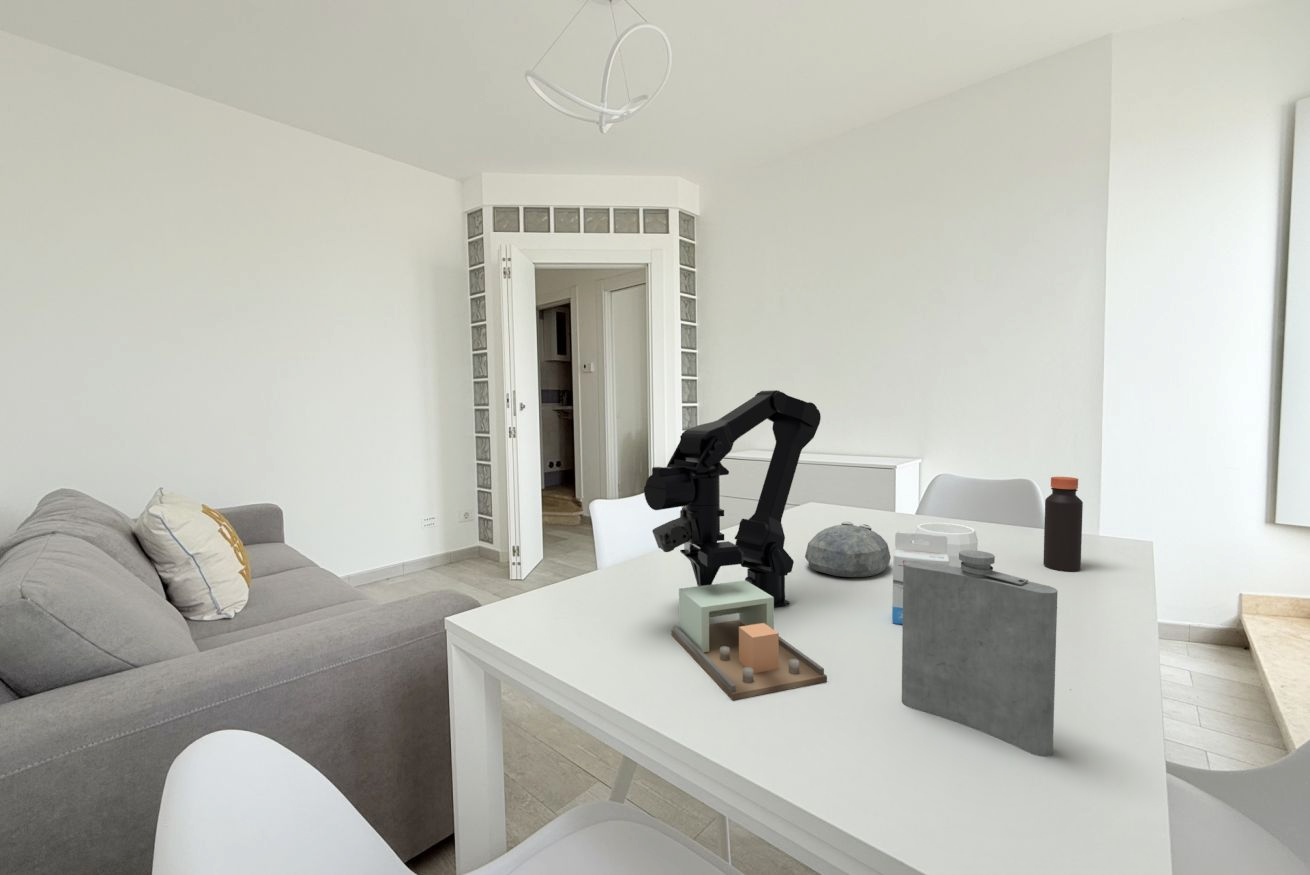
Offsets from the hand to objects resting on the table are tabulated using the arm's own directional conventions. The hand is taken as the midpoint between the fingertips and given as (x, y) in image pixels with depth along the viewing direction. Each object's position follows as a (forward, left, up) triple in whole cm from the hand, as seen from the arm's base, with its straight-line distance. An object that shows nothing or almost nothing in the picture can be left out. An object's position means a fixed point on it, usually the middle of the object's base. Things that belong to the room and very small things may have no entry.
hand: (703, 593), depth 98 cm
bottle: (-87, -1, -5) cm, 87 cm away
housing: (0, +8, -5) cm, 10 cm away
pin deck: (0, +14, -5) cm, 15 cm away
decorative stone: (-43, -18, -5) cm, 47 cm away
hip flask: (-17, +39, -5) cm, 43 cm away
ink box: (-34, +13, -5) cm, 37 cm away
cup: (-61, -8, -5) cm, 62 cm away
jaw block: (0, +19, -4) cm, 19 cm away
